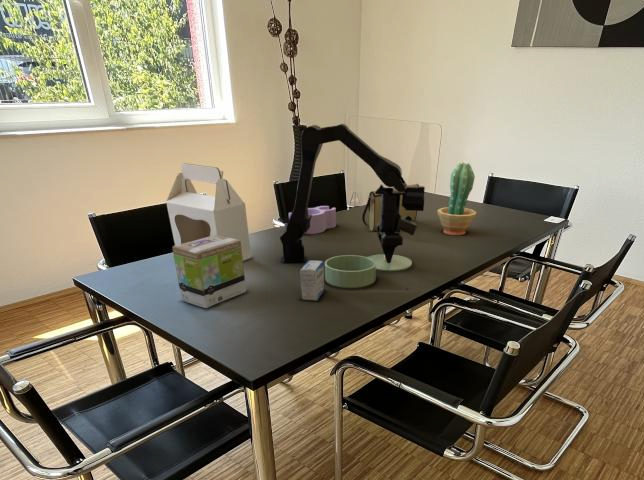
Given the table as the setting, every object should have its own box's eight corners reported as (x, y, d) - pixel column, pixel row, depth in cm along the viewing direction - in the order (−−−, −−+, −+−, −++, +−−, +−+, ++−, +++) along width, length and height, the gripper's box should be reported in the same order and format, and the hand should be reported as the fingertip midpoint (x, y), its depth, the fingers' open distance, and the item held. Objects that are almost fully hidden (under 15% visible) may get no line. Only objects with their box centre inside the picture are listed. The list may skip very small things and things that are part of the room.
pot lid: (365, 273, 147) (365, 257, 144) (361, 257, 160) (361, 242, 157) (415, 272, 148) (417, 256, 145) (407, 257, 161) (408, 242, 158)
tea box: (207, 309, 122) (197, 252, 114) (181, 301, 126) (169, 246, 118) (247, 292, 133) (241, 238, 124) (222, 285, 137) (214, 233, 129)
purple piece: (322, 221, 200) (321, 204, 196) (342, 227, 193) (342, 209, 189) (285, 230, 188) (284, 212, 184) (306, 236, 181) (305, 217, 177)
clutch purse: (407, 218, 207) (409, 181, 199) (419, 221, 203) (422, 183, 194) (357, 229, 190) (358, 189, 182) (369, 233, 186) (370, 192, 178)
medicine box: (317, 301, 128) (316, 270, 123) (301, 300, 128) (299, 268, 123) (324, 290, 134) (323, 260, 129) (309, 289, 135) (308, 259, 130)
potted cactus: (479, 230, 191) (490, 162, 177) (465, 239, 180) (475, 167, 166) (444, 225, 198) (451, 159, 184) (428, 233, 187) (435, 163, 173)
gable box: (252, 258, 158) (241, 166, 142) (223, 268, 149) (208, 171, 133) (206, 247, 168) (191, 159, 152) (176, 256, 158) (157, 164, 143)
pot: (325, 289, 135) (325, 271, 132) (324, 271, 147) (324, 255, 145) (377, 289, 136) (378, 271, 133) (372, 271, 148) (373, 254, 146)
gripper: (421, 216, 137) (416, 269, 146) (411, 203, 153) (407, 251, 161) (383, 216, 136) (381, 269, 145) (377, 203, 152) (375, 251, 161)
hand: (387, 259), depth 153 cm, fingers open, 6 cm apart
